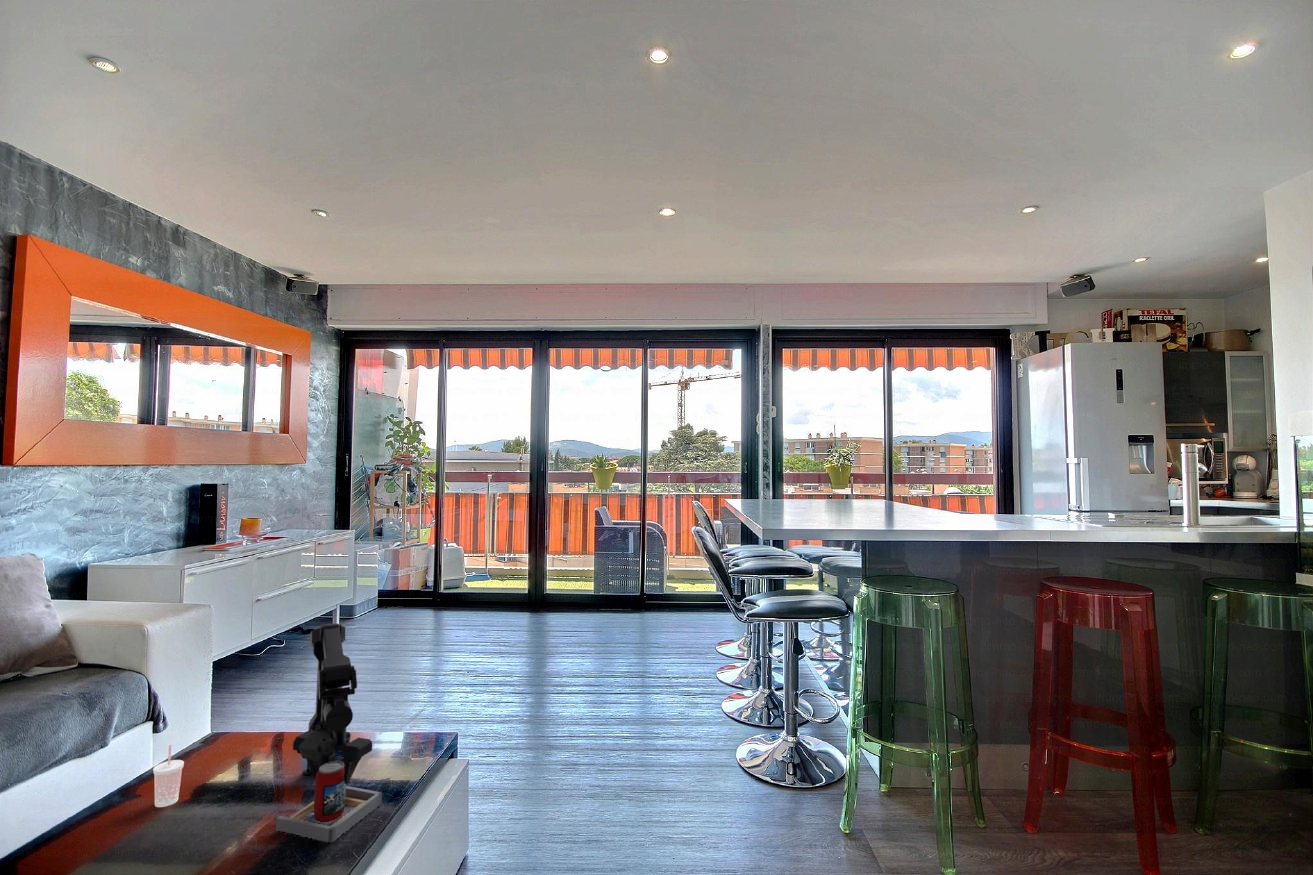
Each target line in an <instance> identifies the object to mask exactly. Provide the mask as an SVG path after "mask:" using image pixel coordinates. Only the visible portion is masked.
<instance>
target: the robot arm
mask: <svg viewBox="0 0 1313 875" xmlns="http://www.w3.org/2000/svg"><path fill="white" fill-rule="evenodd" d="M309 635H310V636H309V647H312V648H311V650H312V653H313V655H314V657H315V658H316V659H317V674H316V693H315V698H316V700H315V713H314V714H313V716H312V718H311V719H310V720H309V721H308V728H307V729H308V730H307V731H305V732H304V733H301V734H299V735H297V736H296V737H295V738H294V740H293V742H292V751H296V753H297V754H298V755H301V759H303V760H306V762H307V764H306V769H305V770H303V771H302V773H301V774H302V775H305V776H309V777H312V778H314V779H315V778H316V774H317V772H318V771H319V768H320V767H321V766H322V765H324V764H326V763H329V762H334V761H336V753H335V750H339V751H341V756H342V759H340V762H342V763H343V764H344V783H345V784H346V785H347V784H348V783H350V781H351V779H352V777H353V775H354V773H355V770H356V768H357V767H358V765H359V763H360V761H361V759H362V758H363V757H364V756H366V755H367V754H369V753H371V752H372V751H373V741H372V740H371V739H370V738H364V737H357V738H355V739H353V740H351V741H346V740H347V739H348V738H350V736H351V733H350V732H348V731H347V727H348V726H349V725H350V724H351V723H352V721H353V718H354V713H353V710H352V708H351V704H350V702H349V696H351V695H355V694H356V689H357V688H358V680H357V670H356V668H355V666H354V665H352V663H351V658H350V657H349V656H347V655H344V650H343V644H342V643H345V641H346V627H345V626H343V625H342V623H340V624H339V623H332V624H331V623H329V624H323V625H321V626H319V627H318V628H315V629H313V630H311V632H310V634H309Z"/></svg>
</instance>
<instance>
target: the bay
mask: <svg viewBox="0 0 1313 875" xmlns="http://www.w3.org/2000/svg"><path fill="white" fill-rule="evenodd" d="M345 797H349V798H355V799H360V800H366V802H364V803H363V804H362V805H360V806H359V807H358V808H356V809H355V810H353V811H352V812H351V813H349V814H348V815H347V816H345V817H344V818H343V819H341V820H340V821H339V822H337V823H336V824H335V825H333V826H327V825H323V824H318V823H313V822H308V821H303V820H299V819H294V818H289V817H290V816H289V817H288V816H283V815H279V816H278V817H276V823H275V824H276V825H275V827H276V828H275V832H278V831H284V832H288V833H293V834H296V835H300V836H299V837H301V836H302V838H305V837H308V838H307V839H310V838H312V839H311V840H315V839H316V841H319V842H324V843H328V842H330V844H333V843H334V842H335V841H336V840H338V839H339V838H341V835H342V834H343V833H344V834H346V833H347V832H348V831H349V830H351V829H352V828H353V827H355V826H356V825H357V824H359V821H360V820H361V819H362V820H364V819H365V818H366V817H367V816H369V815H368V813H370V812H371V813H372V812H373V810H374V811H375V810H377V809H378V808H379V807H381V806H382V801H383V800H382V799H383V798H382V797H383V792H381V791H377V790H376V791H375V790H371V789H365V788H359V787H355V786H350V785H346V794H345ZM378 806H379V807H378ZM377 807H378V808H377ZM371 813H370V814H371ZM366 815H367V816H366ZM365 816H366V817H365ZM364 817H365V818H364ZM362 820H361V821H362ZM361 821H360V822H361ZM356 823H357V824H356ZM355 824H356V825H355ZM352 826H353V827H352ZM351 827H352V828H351ZM350 828H351V829H350ZM346 831H347V832H346ZM344 834H343V835H344ZM296 835H295V836H296ZM343 835H342V836H343ZM337 838H338V839H337ZM332 842H333V843H332Z"/></svg>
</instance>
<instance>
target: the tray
mask: <svg viewBox="0 0 1313 875" xmlns="http://www.w3.org/2000/svg"><path fill="white" fill-rule="evenodd" d="M364 802H366V800H360V799H355V798H349V797H345V804H346V805H350V806H357V807H355V808H354V809H353V810H355V809H356V808H358V807H359V806H360V805H362V804H363V803H364ZM312 810H314V800H313V801H312V802H310V803H309V804H307V805H306V806H304V807H302V809H300V810H298V811H297V812H295V813H294V814H292V815H291V816H289V818H294V819H300V818H301V817H303V816H304V815H306V814H307V813H309V812H311V811H312ZM353 810H351V811H350V812H349V813H351V812H352V811H353ZM349 813H347V814H346V815H345V816H347V815H348V814H349ZM345 816H343V817H342V818H341V819H343V818H344V817H345ZM341 819H339V820H338V821H337V822H339V821H340V820H341ZM337 822H335V823H334V824H333V825H335V824H336V823H337ZM333 825H331V826H333Z"/></svg>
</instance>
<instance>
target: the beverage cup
mask: <svg viewBox="0 0 1313 875" xmlns="http://www.w3.org/2000/svg"><path fill="white" fill-rule="evenodd" d="M167 754H168V756H167V757H168V758H167V761H163V762H161V763H159V764H157V765H155V766H154V767H153V769H152V770H153V771H152V773H153V774H154V775H153V776H154V780H153V781H154V806H155V807H156V808H165V807H169V806H172V805H174V804H176V803H177V802H178V800H179V794H180V787H181V783H182V781H181V779H182V772H183V768H184V766H185V765H184V764H185V761H184V760H181V759H172V760H171V756H172V755H171V754H172V744H170V745H168V753H167Z"/></svg>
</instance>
